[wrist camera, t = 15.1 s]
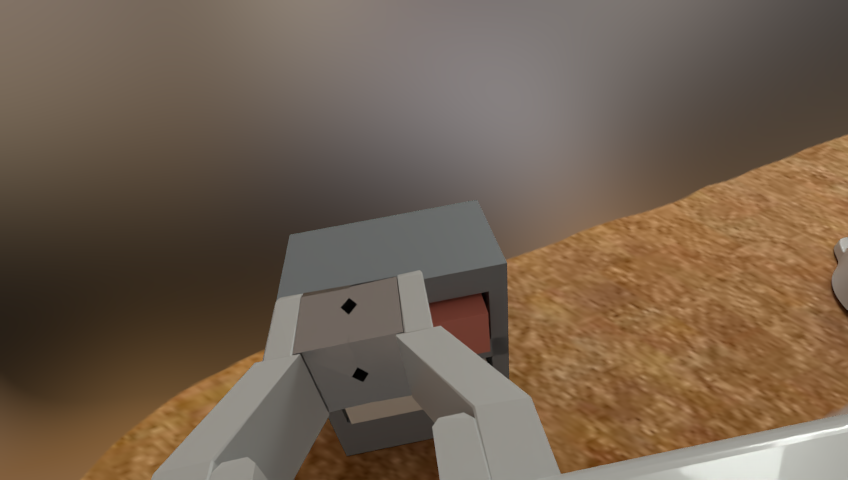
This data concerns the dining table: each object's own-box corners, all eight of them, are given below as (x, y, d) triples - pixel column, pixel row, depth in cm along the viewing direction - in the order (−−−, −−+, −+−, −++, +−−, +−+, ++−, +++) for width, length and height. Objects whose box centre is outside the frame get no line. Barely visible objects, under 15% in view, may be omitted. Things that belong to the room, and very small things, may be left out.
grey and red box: (509, 422, 33) (506, 262, 24) (346, 455, 33) (275, 307, 23) (486, 352, 39) (476, 199, 29) (347, 380, 39) (289, 234, 29)
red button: (490, 351, 26) (488, 312, 24) (328, 383, 26) (312, 347, 24) (475, 305, 29) (471, 268, 27) (331, 333, 29) (317, 298, 27)
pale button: (490, 395, 30) (488, 366, 28) (351, 423, 30) (339, 396, 28) (476, 351, 33) (474, 322, 31) (351, 376, 33) (340, 348, 31)
